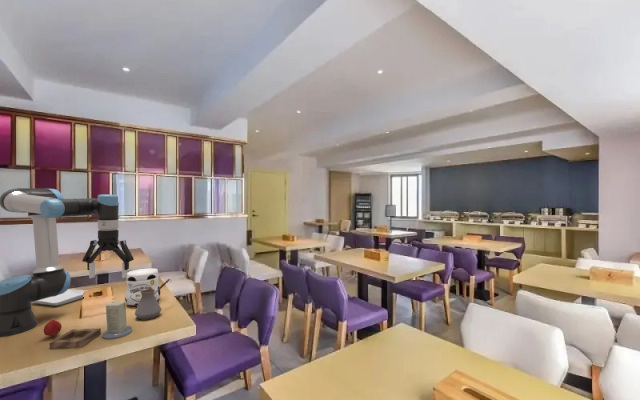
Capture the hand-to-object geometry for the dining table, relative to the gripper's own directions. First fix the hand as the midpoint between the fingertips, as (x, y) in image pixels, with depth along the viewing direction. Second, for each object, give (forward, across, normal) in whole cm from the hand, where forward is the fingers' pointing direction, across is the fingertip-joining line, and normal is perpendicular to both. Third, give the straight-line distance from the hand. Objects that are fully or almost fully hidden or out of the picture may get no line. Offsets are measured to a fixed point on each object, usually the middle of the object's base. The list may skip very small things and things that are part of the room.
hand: (108, 277), depth 135 cm
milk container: (+25, -3, +37) cm, 45 cm away
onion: (+25, -21, -3) cm, 33 cm away
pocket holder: (+24, -8, -8) cm, 27 cm away
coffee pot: (+25, +11, +21) cm, 34 cm away
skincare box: (+24, +4, -2) cm, 24 cm away
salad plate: (+27, -53, +47) cm, 76 cm away
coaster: (+24, +5, -2) cm, 25 cm away
